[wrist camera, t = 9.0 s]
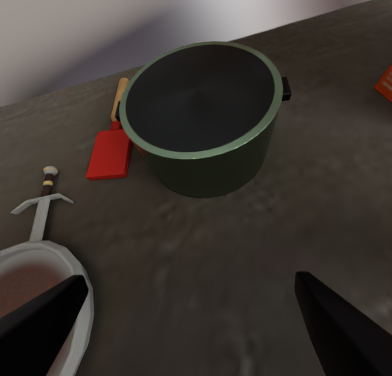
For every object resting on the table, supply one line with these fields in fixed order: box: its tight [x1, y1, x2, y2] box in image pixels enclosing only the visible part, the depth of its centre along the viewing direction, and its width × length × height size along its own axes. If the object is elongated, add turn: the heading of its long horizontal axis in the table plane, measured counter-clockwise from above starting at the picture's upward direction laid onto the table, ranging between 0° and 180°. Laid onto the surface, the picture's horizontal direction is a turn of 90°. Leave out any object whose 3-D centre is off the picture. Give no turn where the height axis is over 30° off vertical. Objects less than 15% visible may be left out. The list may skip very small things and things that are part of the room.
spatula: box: [86, 78, 132, 180], centre depth 30 cm, size 19×6×2 cm, turn 1°
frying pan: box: [0, 166, 94, 376], centre depth 21 cm, size 17×3×28 cm
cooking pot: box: [115, 41, 292, 198], centre depth 22 cm, size 16×18×9 cm
